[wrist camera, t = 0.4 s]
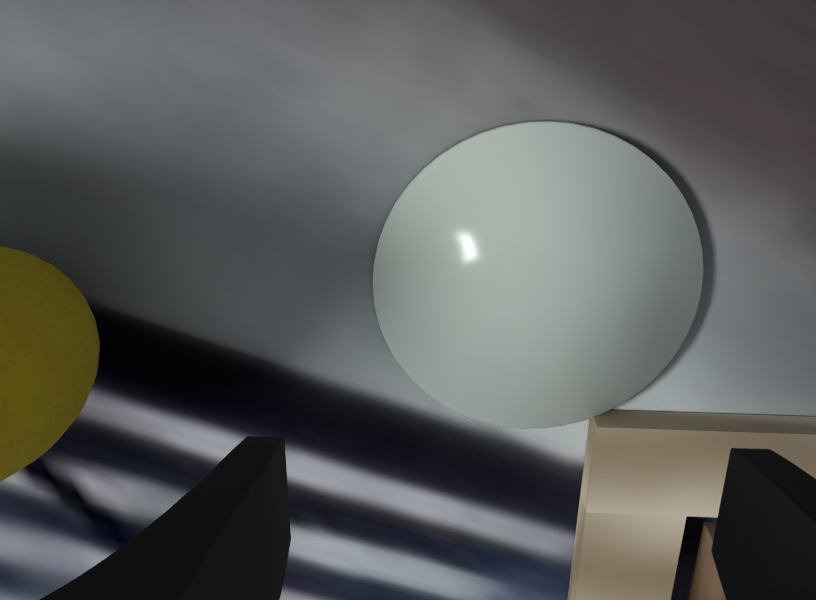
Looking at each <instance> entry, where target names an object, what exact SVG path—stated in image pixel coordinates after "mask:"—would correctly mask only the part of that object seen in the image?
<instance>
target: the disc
mask: <svg viewBox="0 0 816 600" xmlns="http://www.w3.org/2000/svg"><path fill="white" fill-rule="evenodd" d="M702 282H703V252H702V246H701V241H700V236H699V231H698V228H697V226H696V223H695V220H694V217H693V214H692V212H691V210H690V208H689V206H688V204H687V202H686V200H685V198H684V196H683V195H682V193H681V192H680V190H679V189H678V188H677V186H676V185H675V184H674V182H673V181H672V180H671V178H670V177H669V176H668V175H667V174H666V173H665V172H664V171H663V170H662V169H661V168H660V167H659V166H658V165H657V164H656V163H655V162H654V161H653V160H652V159H651V158H649V157H648V156H647V155H645V154H644V153H643V152H641V151H640V150H639V149H637V148H636V147H635V146H633V145H632V144H630V143H628V142H626V141H624V140H623V139H621V138H619V137H617V136H615V135H613V134H611V133H608V132H605V131H603V130H600V129H597V128H595V127H591V126H587V125H582V124H578V123H574V122H566V121H555V120H534V121H522V122H516V123H510V124H504V125H500V126H497V127H494V128H491V129H487V130H484V131H481V132H479V133H476V134H474V135H472V136H470V137H468V138H466V139H463V140H461V141H459V142H458V143H456V144H454V145H453V146H451V147H450V148H448V149H446V150H445V151H443V152H442V153H440V154H439V155H438V156H437V157H435V158H434V159H433V160H432V161H430V162H429V163H428V164H427V165H426V166H424V167H423V168H422V169H421V170H420V171H419V173H418V174H417V175H416V176H415V177H414V178H413V179H412V180H411V181H410V182H409V183H408V185H407V186H406V187H405V189H404V190H403V192H402V193H401V194H400V196H399V197H398V199H397V200H396V202H395V204H394V206H393V207H392V209H391V211H390V213H389V215H388V217H387V219H386V221H385V224H384V227H383V230H382V232H381V235H380V238H379V242H378V247H377V251H376V256H375V261H374V270H373V296H374V305H375V310H376V315H377V319H378V323H379V326H380V329H381V331H382V334H383V337H384V339H385V341H386V343H387V345H388V347H389V349H390V351H391V353H392V355H393V357H394V358H395V359H396V361H397V362H398V364H399V365H400V366H401V368H402V369H403V370H404V372H405V373H406V374H407V375H408V376H409V377H410V378H411V379H412V380H413V381H414V383H415V384H416V385H417V386H418V387H420V388H421V389H422V390H423V391H424V392H426V393H427V394H428V395H429V396H431V397H432V398H433V399H435V400H436V401H438V402H440V403H441V404H443V405H444V406H446V407H447V408H449V409H451V410H453V411H456V412H458V413H460V414H462V415H464V416H466V417H469V418H472V419H475V420H478V421H481V422H484V423H489V424H493V425H498V426H503V427H513V428H524V429H525V428H548V427H556V426H563V425H567V424H572V423H576V422H580V421H584V420H586V419H589V418H592V417H593V416H597V415H600V414H602V413H604V412H606V411H608V410H610V409H612V408H614V407H616V406H618V405H620V404H622V403H623V402H625V401H626V400H628V399H630V398H631V397H633V396H634V395H636V394H637V393H638V392H640V391H641V390H642V389H643V388H644V387H646V386H647V385H648V384H649V383H650V382H652V381H653V380H654V379H655V378H656V377H657V376H658V375H659V373H660V372H661V371H662V370H663V369H664V368H665V367H666V366H667V365H668V364H669V362H670V361H671V359H672V358H673V357H674V355H675V354H676V353H677V351H678V350H679V348H680V347H681V345H682V343H683V341H684V339H685V338H686V336H687V334H688V332H689V330H690V328H691V325H692V323H693V320H694V318H695V315H696V313H697V308H698V304H699V300H700V296H701V292H702Z"/></svg>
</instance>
